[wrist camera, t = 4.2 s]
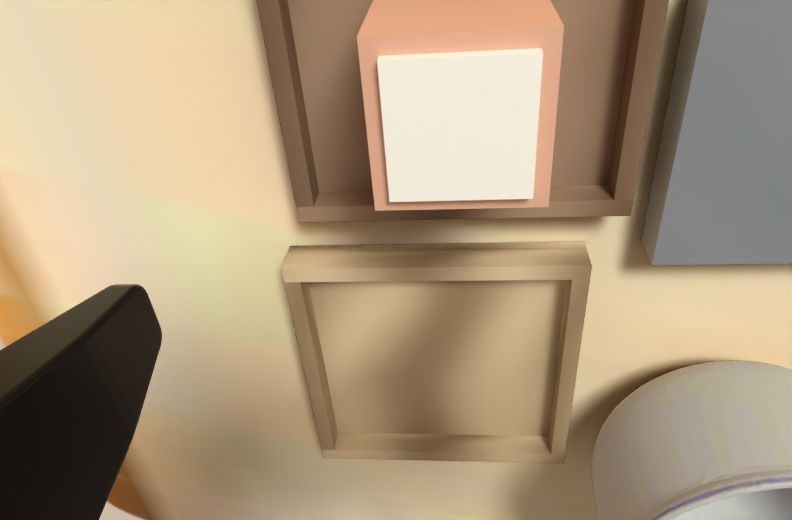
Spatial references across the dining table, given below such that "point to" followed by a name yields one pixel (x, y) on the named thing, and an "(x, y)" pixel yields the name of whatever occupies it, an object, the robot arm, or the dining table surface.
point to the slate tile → (726, 140)
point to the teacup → (699, 446)
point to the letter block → (460, 102)
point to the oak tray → (440, 347)
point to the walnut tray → (575, 121)
